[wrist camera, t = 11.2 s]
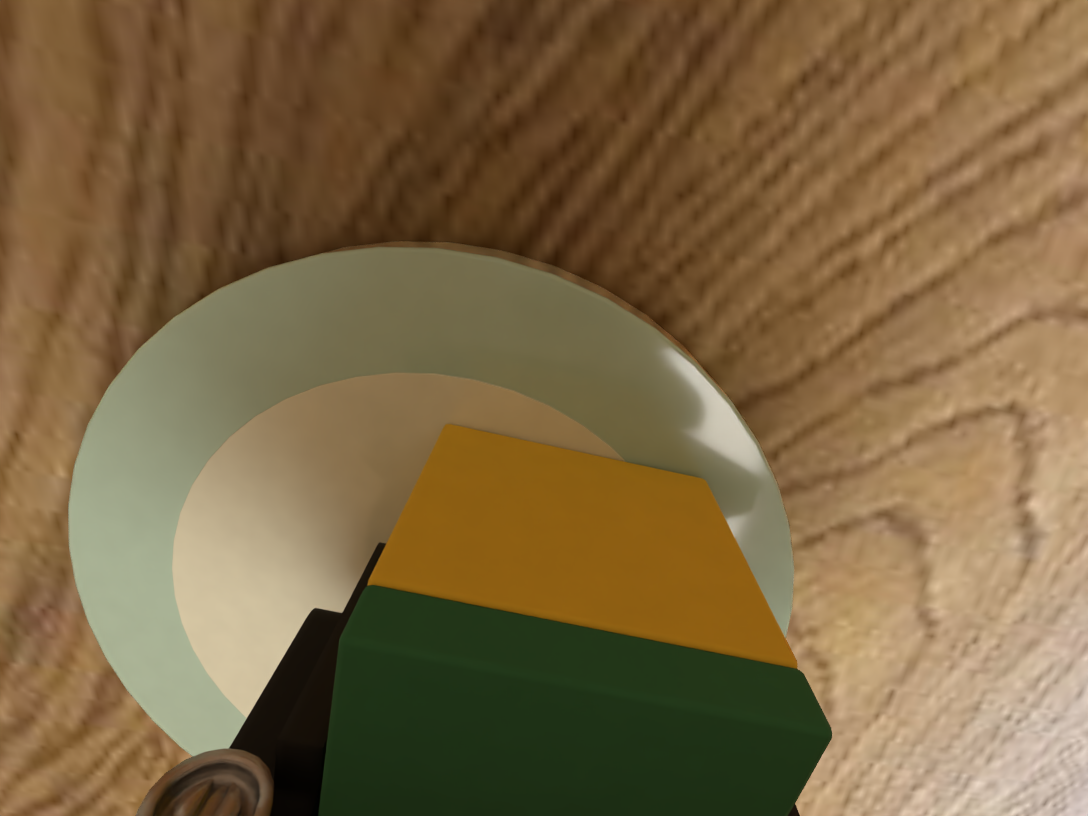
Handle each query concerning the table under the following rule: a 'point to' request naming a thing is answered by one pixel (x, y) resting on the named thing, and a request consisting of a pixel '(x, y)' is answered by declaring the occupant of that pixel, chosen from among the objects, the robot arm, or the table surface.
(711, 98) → the table surface
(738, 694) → the sponge
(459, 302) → the plate
